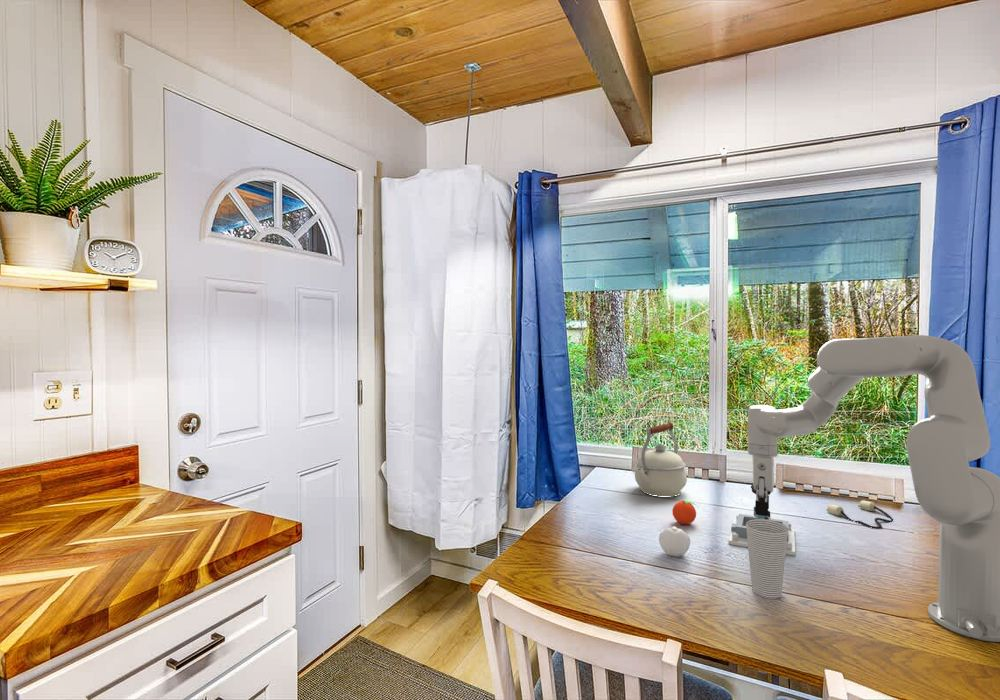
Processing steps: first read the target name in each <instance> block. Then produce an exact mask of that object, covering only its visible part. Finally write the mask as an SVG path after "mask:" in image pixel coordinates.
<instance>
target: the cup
mask: <svg viewBox="0 0 1000 700" xmlns="http://www.w3.org/2000/svg"><path fill="white" fill-rule="evenodd" d="M746 529H747V540H748V547H747V548H748V550H747V551H748V560H749V571H750V582H751V591H753V593H754V594H755V595H756V596H759V597H762V598H763V599H769V600H776V599H779V598H781V597H782V595H783V593H782V592H783V584H784V583H783V582H784V572H785V562H786V555H787V554H786V545H787V535H788V528H787V527H786V526H785V525H784V524H781V523H779V522H776V521H772V520H767V519H751V520H749V521H747V522H746Z"/></svg>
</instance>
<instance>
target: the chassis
mask: <svg viewBox="0 0 1000 700" xmlns="http://www.w3.org/2000/svg"><path fill="white" fill-rule="evenodd" d="M733 519H734V520H733V522H732V523H731V527H730V529H731V530H730V535H729V539H728V544H729V545H733V546H739V547H745V548H748V540H747V529H746V522H747V521H749V520H751V519H759V518H756V517H755V516H754V515H751V514H750V515H749V514H743V513H738V514H737V515H736V517H735V518H733ZM769 520H772V521H776V522H779V523H781V524H784V525H785V526H786V527H787V528H788V535H787V545H786V555H788V556H789V555H790V556H796V545H795V544H796V542H795V528H794V527H792V523H790V522H789V520H783V519H778V518H777V519H775V518H772V517H770V519H769Z"/></svg>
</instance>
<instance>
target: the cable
mask: <svg viewBox="0 0 1000 700" xmlns="http://www.w3.org/2000/svg"><path fill="white" fill-rule="evenodd" d="M857 507H858V508H859V509H861V510H863V509H864V510H863V511H867V510H868V512H871V511H873V512H875V511H876V510H877V511H879V512H880V513H882V514H884V515H885V516H886V517H887V518H888V517H889V518H890V519H891V520H890V519H889V518H888V519H885V518H882V517H881V518H880V517H875V518H874V522H875V524H877V526H876V525H875V526H873V525H870V524H869V523H866V522H863V521H861V520H854V519H851V518H850V517H849V516H848V515H847V514H846V513H845V512H844V508H843V507H842V506H839V505H836V504H831V503H830V504H828V506H827V509H825V511H826V512H827V513H828V514H830V515H833V514H834V516H836V515H837V517H842V516H843V517H844V518H845V519H846V520H847V519H849V520H848V521H850V520H852V521H851V522H853V521H855V522H854V523H857V522H858V524H860V523H861V525H863V526H864V527H867V526H868V527H867V528H869V527H872V528H871V529H873V528H881V529H882V528H883V527H882V524H881V523H880V522H879V521H881V522H884V521H888V522H887V523H893V522H892V521H893V520H894V518H893V517H892V516H891V515H890V514H888V513H887V512H886V511H884V510H883V509H881V508H879V507H878V506H877V505H876V504H875V502H874V501H868V500H861V501H860V502H859V504H858V505H857Z"/></svg>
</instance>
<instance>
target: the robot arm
mask: <svg viewBox="0 0 1000 700" xmlns="http://www.w3.org/2000/svg"><path fill="white" fill-rule="evenodd" d="M816 363H817V366H818V368H816V369H815V370H814V371H813V373H811V374H810V375H809V377H808V378H807V385H808V388H809V389H810V391H811V392H812V393H811V394H810V396H809V397H808V398H807V399H806V400H805V401H804V402H802V403H801V404H800V405H799V406H797V407H788V408H782V409H777V408H776V407H774V406H772V405H766V404H756V405H754V404H753V405H751V406H750V407H748V410H747V454H749V455H750V456H752V463H751V464H752V481H753V482H752V483H753V484H752V485H754V490H756V494H755V505H754V507H755V514H756V515H762V516H768V511H769V507H770V495H768V496H767V493H768V491H770V492H771V493H773V492H774V489H775V487H774V485H775V482H774V480H775V477H774V476H775V472H774V470H775V468H774V466H775V465H774V463H775V461H774V458H776V457H778V455H779V454H778V450H779V449H778V446H779V445H778V442H779V441H778V440H779V439H778V438H780V439H785V438H792V437H798V436H803V435H809V434H811V433H813V432H815V431H817V430H818V429H819V428H820V427H821V426H822V425H824V424H825V423H826V422H827V421H828V420H829V419H830V418H831V417H832V416H833V415H834V414H835V412H836V410H837V408H838V406H839V405H840V404H839V403H840V400H842V399H843V397H845V396H846V395H847V394H848V393H849V391H851V390H852V389H853V388H854V387H855V386H856V385H857V384H858V383H860V382H861V381H862V380H863V379H864V378H866V377H870V378H871V377H872V378H873V377H876V378H879V377H880V378H881V377H882V378H883V377H884V378H892V377H893V378H894V377H905V376H906V377H907V376H914V375H921V376H924V377H925V385H924V390H923V391H924V401H925V405H926V410H927V416H928V417H926V418H923V419H921V420H919V421H917V422H915V423H914V424H913V425H912V426H911V427H910V429H909V431H908V433H907V436H906V452H907V458H908V463H909V468H910V474H911V479H912V484H913V489H914V492H915V497H916V499H917V502H918V504H919V506H920V507H921V510H923V512H924V513H925V514H927V516H929V517H930V518H931V519H933V520H935V521H936V522H938V523H939V524H940V525H939V533H938V534H939V537H938V539H939V540H938V575H937V577H938V578H937V582H938V584H937V586H938V587H937V601H935V602H931V603H930V604H929V605H928V607H927V613H928V616H929V617H930V618H931V619H932V620H933V621H934V622H936V623H937V624H938V625H940V626H942V627H943V628H945V629H947V630H950V631H951V632H954V633H957V634H959V635H962V636H965V637H968V638H971V639H975V640H978V641H979V640H980V641H985V642H991V643H992V642H993V643H1000V477H999V475H996V474H995V473H994V472H992V471H989V470H986V469H984V468H981V467H973V466H970V463H969V462H972V461H975V460H978V459H980V458H982V457H984V456H986V454H988V452H989V450H990V448H991V436H990V432H989V428H988V423H987V419H986V415H985V410H984V406H983V401H982V399H981V398H982V397H981V395H980V389H979V385H978V380H977V374H976V370H975V369H976V368H975V366H974V363H973V361H972V359H971V357H970V355H969V354H968V353H967V351H966V350H965V349H963V348H962V346H960V345H958V344H957V343H955V342H953V341H951V340H948V339H946V338H942V337H939V336H931V335H924V334H922V335H921V334H919V335H918V334H916V335H915V334H912V335H910V334H908V335H898V336H880V337H866V338H864V337H863V338H861V337H860V338H858V337H857V338H851V337H850V338H836V339H831V340H829V341H827V342H825V343H824V344H823V345H822V346H821V347H820V348H819V350H818V351H817V355H816ZM758 488H759V490H758ZM764 488H765V489H766V491H764ZM767 490H768V491H767ZM764 493H765V494H764ZM771 493H770V494H771Z"/></svg>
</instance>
